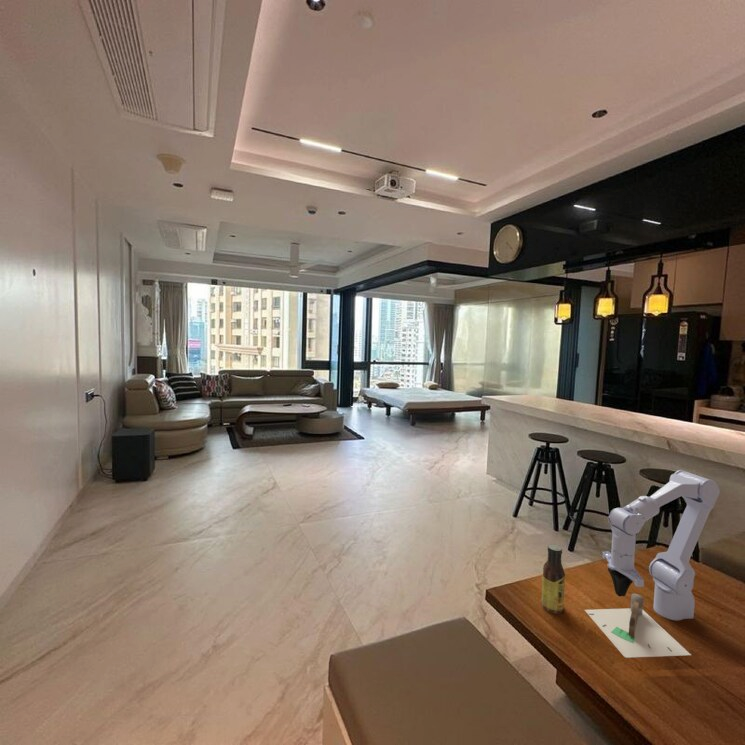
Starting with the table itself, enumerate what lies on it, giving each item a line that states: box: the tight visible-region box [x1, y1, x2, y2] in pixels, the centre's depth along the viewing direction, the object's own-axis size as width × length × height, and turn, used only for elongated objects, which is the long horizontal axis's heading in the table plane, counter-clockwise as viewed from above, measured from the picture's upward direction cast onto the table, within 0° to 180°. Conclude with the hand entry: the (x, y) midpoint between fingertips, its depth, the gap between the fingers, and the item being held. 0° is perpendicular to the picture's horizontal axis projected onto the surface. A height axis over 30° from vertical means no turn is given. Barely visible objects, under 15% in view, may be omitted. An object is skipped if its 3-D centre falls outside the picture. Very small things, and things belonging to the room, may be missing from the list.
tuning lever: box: [629, 593, 644, 637], centre depth 113 cm, size 16×3×5 cm, turn 141°
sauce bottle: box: [541, 544, 566, 614], centre depth 120 cm, size 7×6×20 cm
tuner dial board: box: [584, 607, 692, 659], centre depth 111 cm, size 18×18×1 cm
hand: (620, 594), depth 115 cm, fingers closed
